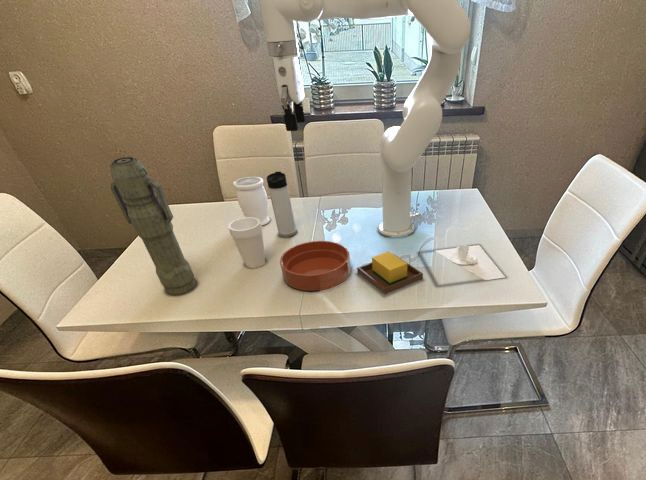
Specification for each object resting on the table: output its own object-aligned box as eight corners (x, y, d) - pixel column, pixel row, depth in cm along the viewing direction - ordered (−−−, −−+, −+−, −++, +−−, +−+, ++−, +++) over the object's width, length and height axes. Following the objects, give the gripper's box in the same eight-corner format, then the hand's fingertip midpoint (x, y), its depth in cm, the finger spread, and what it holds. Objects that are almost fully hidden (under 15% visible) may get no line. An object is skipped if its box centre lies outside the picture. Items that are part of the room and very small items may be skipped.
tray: (393, 260, 117) (393, 253, 115) (422, 280, 108) (423, 273, 106) (357, 274, 112) (357, 267, 110) (384, 296, 103) (384, 289, 101)
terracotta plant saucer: (330, 250, 123) (328, 234, 120) (363, 276, 111) (362, 260, 107) (273, 270, 116) (269, 254, 112) (301, 300, 103) (298, 283, 99)
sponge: (389, 266, 113) (388, 251, 110) (407, 279, 108) (407, 263, 104) (372, 272, 111) (371, 257, 108) (390, 286, 106) (389, 270, 102)
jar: (278, 219, 143) (269, 178, 133) (258, 230, 137) (248, 188, 127) (258, 214, 148) (248, 174, 138) (238, 224, 142) (226, 183, 131)
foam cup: (275, 257, 122) (266, 218, 113) (260, 272, 115) (249, 232, 106) (250, 254, 124) (239, 215, 115) (234, 268, 118) (221, 228, 109)
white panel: (480, 265, 112) (482, 253, 109) (455, 268, 111) (456, 256, 109) (470, 251, 119) (471, 239, 116) (445, 254, 118) (447, 242, 115)
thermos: (198, 293, 108) (142, 163, 84) (156, 297, 108) (89, 168, 84) (205, 277, 115) (155, 152, 91) (166, 280, 114) (105, 156, 90)
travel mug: (298, 229, 136) (287, 171, 123) (294, 237, 132) (282, 178, 118) (281, 229, 137) (269, 171, 123) (276, 237, 132) (263, 178, 119)
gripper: (290, 53, 89) (302, 133, 101) (304, 46, 102) (314, 118, 114) (259, 54, 90) (275, 134, 102) (277, 48, 103) (290, 119, 114)
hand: (296, 126), depth 108 cm, fingers open, 9 cm apart
